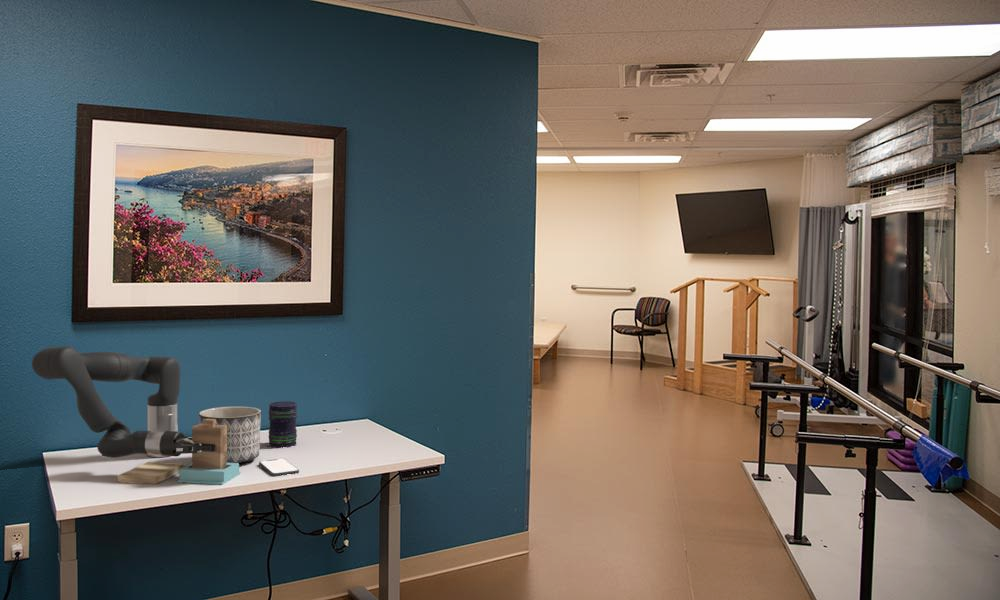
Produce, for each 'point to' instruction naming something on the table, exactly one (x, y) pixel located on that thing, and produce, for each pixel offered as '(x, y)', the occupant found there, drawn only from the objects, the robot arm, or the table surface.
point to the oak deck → (150, 473)
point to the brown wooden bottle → (210, 435)
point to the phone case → (278, 467)
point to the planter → (238, 430)
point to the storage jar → (282, 424)
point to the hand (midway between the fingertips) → (218, 446)
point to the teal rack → (208, 474)
